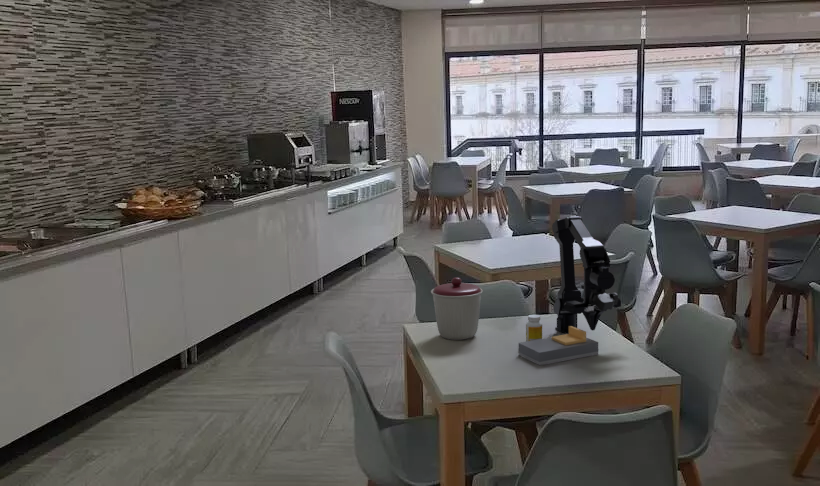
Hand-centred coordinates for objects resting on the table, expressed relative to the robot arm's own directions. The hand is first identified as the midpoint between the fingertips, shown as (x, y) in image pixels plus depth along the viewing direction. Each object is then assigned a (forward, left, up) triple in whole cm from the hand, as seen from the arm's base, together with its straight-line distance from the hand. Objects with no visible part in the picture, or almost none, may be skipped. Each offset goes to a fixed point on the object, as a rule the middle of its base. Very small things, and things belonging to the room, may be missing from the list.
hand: (592, 330), depth 247 cm
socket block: (+13, 0, -6) cm, 15 cm away
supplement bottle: (+13, -14, -6) cm, 20 cm away
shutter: (+9, 0, -2) cm, 10 cm away
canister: (+31, -35, -6) cm, 47 cm away
